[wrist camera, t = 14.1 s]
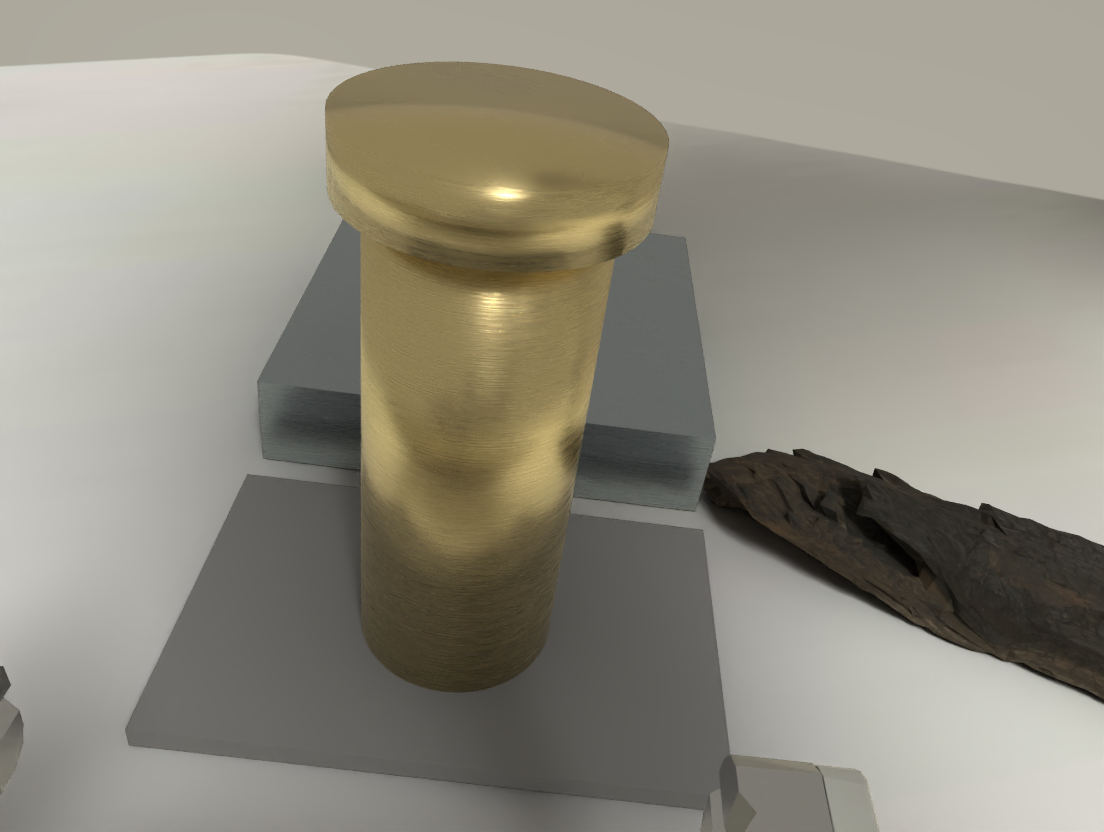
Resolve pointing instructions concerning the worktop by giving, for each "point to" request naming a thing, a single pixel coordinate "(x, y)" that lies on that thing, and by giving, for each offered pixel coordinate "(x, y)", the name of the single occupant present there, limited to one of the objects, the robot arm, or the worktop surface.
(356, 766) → the mat
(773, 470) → the wood
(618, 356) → the housing
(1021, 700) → the worktop surface
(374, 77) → the round headed pin
